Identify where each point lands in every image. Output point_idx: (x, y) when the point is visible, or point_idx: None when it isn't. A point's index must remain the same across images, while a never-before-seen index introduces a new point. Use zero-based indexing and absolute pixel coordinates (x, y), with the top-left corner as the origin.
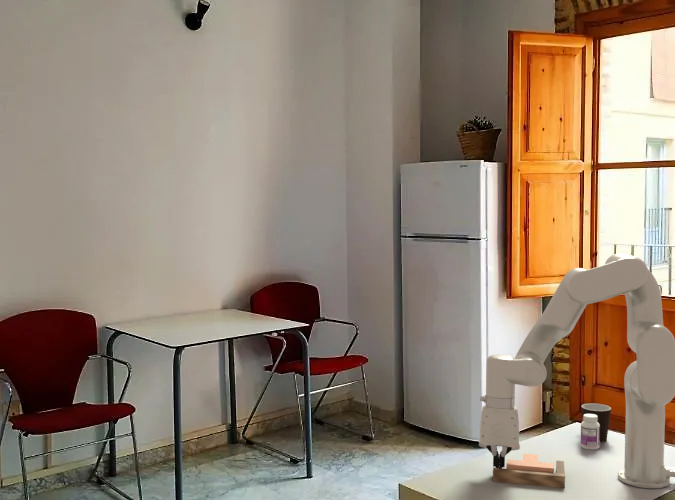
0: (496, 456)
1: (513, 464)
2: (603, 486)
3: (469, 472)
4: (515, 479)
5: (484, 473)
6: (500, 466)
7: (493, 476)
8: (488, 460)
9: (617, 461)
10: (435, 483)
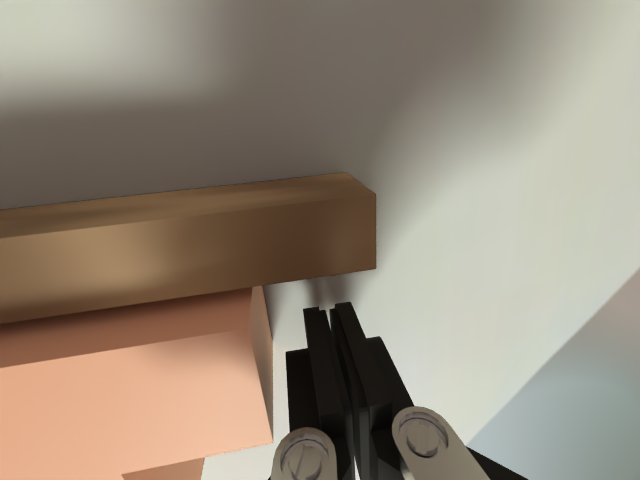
0: (384, 406)
1: (170, 353)
2: None
3: (502, 280)
4: (150, 200)
5: (412, 299)
6: (316, 331)
7: (351, 181)
8: None
9: None
10: None
